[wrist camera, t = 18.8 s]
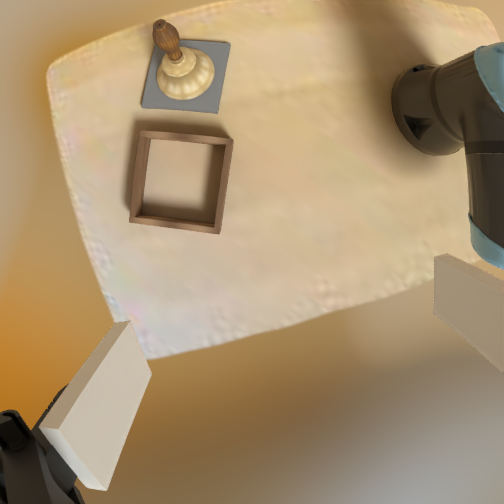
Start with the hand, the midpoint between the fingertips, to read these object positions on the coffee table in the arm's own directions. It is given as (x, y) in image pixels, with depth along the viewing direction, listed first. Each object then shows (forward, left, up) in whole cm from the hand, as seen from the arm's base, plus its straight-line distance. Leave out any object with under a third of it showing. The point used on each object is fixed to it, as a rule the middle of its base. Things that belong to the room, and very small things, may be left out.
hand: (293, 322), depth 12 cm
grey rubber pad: (+13, -19, -33) cm, 40 cm away
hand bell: (+13, -19, -32) cm, 39 cm away
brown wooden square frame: (+11, -3, -33) cm, 35 cm away
